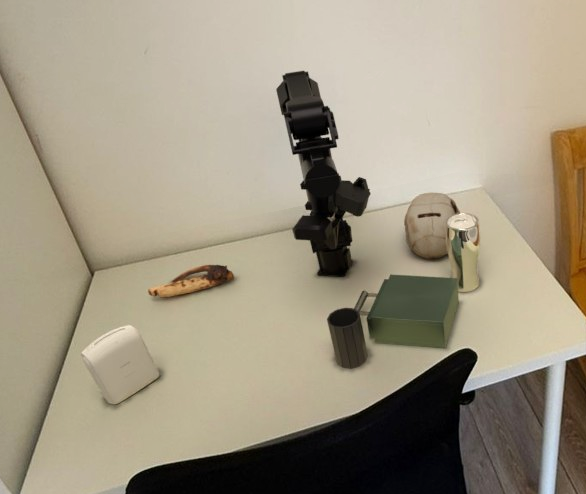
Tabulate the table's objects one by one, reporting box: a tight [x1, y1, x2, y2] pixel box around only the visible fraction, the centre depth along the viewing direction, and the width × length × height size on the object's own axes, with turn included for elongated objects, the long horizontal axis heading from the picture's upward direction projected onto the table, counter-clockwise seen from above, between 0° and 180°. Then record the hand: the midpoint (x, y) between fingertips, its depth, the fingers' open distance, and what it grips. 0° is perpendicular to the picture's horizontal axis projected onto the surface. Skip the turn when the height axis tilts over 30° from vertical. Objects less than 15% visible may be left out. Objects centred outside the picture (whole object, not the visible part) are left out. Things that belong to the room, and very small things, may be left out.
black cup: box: [326, 307, 369, 370], centre depth 115 cm, size 6×6×10 cm
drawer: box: [353, 278, 389, 338], centre depth 123 cm, size 17×13×5 cm
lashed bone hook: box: [147, 264, 235, 298], centre depth 139 cm, size 9×5×18 cm
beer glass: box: [445, 212, 481, 293], centre depth 129 cm, size 7×7×15 cm
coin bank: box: [403, 192, 461, 260], centre depth 143 cm, size 16×17×13 cm
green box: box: [371, 274, 460, 349], centre depth 122 cm, size 14×14×6 cm
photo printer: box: [80, 324, 161, 405], centre depth 112 cm, size 10×4×12 cm, turn 140°
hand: (333, 248), depth 123 cm, fingers closed
